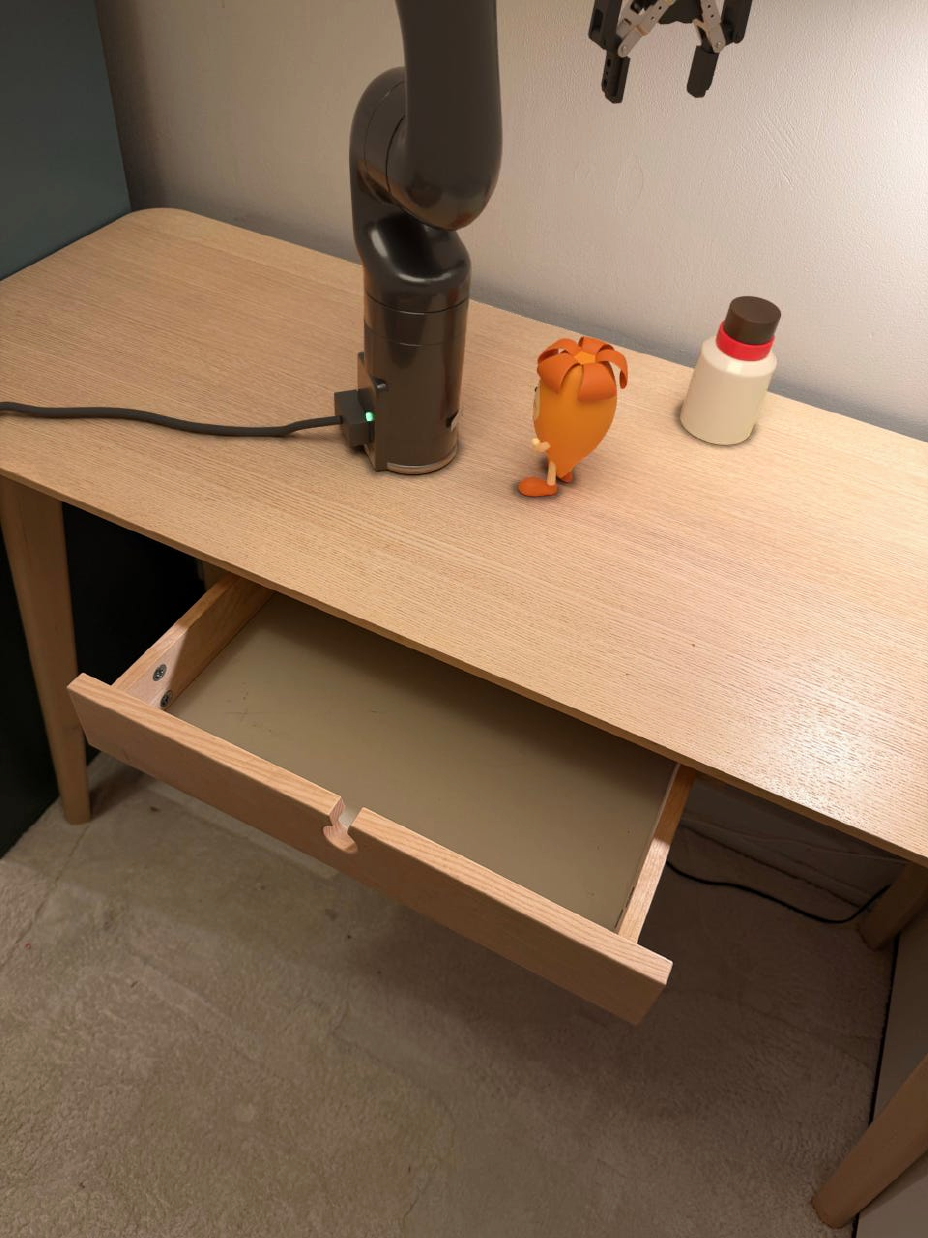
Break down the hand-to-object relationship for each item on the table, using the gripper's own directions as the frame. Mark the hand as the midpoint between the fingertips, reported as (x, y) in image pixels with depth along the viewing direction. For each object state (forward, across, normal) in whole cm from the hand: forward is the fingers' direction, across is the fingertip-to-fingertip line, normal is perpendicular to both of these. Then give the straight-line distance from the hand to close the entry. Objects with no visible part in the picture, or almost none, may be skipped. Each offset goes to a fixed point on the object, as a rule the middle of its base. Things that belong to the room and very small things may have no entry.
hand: (654, 97), depth 82 cm
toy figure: (+28, +13, +18) cm, 36 cm away
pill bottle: (+28, -8, +13) cm, 32 cm away
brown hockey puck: (+17, -8, +13) cm, 23 cm away
